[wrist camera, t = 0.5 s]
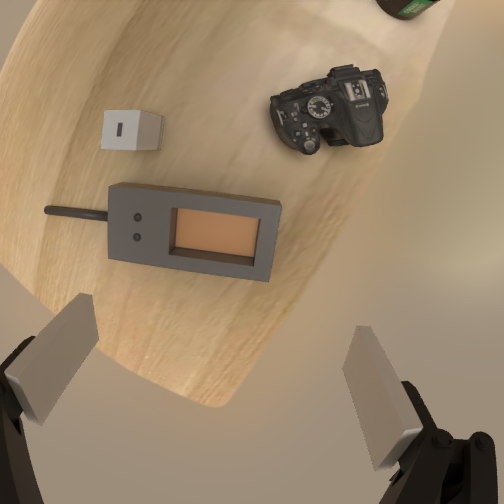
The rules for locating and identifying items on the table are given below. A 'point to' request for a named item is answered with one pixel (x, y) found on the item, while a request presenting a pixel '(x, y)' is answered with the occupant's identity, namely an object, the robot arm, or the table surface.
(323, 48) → the table surface
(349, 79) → the camera
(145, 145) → the block
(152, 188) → the power strip
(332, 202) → the table surface
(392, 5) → the supplement bottle
